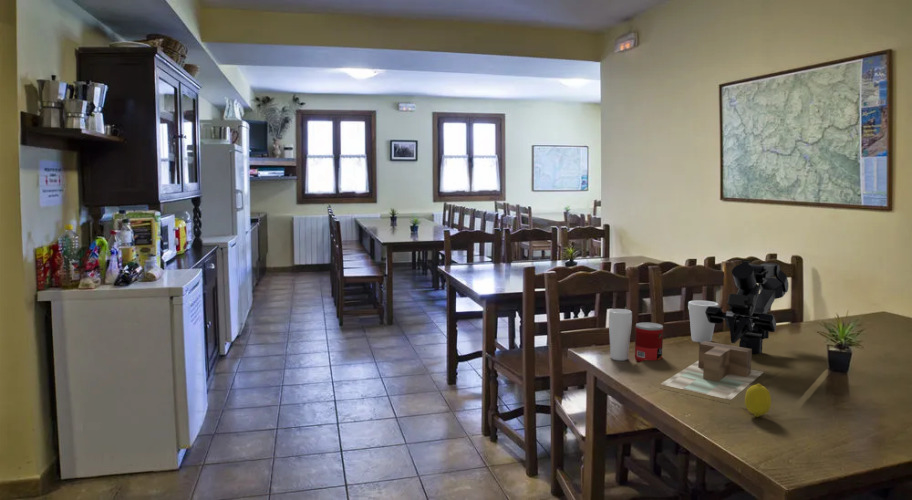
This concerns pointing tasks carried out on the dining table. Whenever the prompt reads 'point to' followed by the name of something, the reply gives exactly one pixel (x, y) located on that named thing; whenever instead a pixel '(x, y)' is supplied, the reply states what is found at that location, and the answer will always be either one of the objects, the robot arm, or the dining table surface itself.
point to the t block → (723, 360)
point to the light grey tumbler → (619, 333)
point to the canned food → (648, 341)
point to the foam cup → (700, 321)
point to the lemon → (758, 400)
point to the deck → (710, 382)
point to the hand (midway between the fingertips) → (732, 342)
